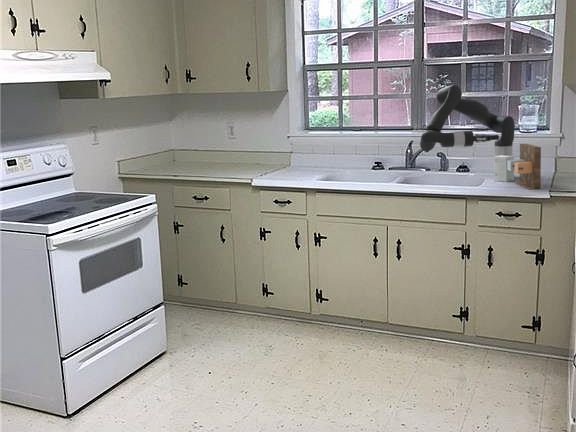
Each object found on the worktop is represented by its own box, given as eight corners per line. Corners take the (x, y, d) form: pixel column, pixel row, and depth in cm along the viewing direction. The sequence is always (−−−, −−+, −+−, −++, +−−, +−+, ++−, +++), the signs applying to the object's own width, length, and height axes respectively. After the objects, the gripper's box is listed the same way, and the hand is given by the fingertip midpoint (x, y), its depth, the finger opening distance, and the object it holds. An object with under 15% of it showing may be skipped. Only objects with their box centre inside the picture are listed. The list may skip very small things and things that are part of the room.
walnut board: (514, 183, 336) (514, 144, 332) (525, 182, 336) (525, 143, 332) (528, 189, 316) (529, 147, 312) (540, 188, 316) (540, 147, 312)
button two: (514, 172, 322) (514, 162, 321) (532, 171, 321) (533, 161, 321) (518, 173, 317) (518, 163, 316) (536, 172, 316) (536, 162, 315)
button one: (507, 169, 333) (507, 160, 332) (525, 168, 332) (525, 158, 331) (510, 171, 327) (510, 161, 326) (528, 170, 327) (529, 160, 326)
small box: (514, 180, 345) (514, 155, 343) (506, 182, 342) (506, 157, 340) (502, 179, 352) (502, 155, 350) (493, 180, 349) (493, 156, 346)
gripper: (465, 132, 309) (502, 130, 309) (458, 130, 322) (494, 128, 322) (465, 148, 311) (502, 146, 310) (459, 145, 324) (494, 143, 323)
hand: (498, 137), depth 316 cm, fingers closed
